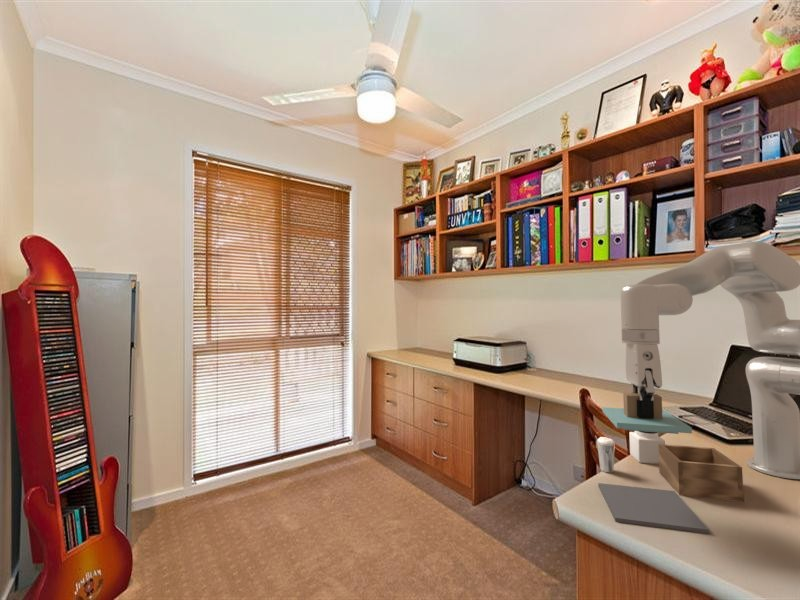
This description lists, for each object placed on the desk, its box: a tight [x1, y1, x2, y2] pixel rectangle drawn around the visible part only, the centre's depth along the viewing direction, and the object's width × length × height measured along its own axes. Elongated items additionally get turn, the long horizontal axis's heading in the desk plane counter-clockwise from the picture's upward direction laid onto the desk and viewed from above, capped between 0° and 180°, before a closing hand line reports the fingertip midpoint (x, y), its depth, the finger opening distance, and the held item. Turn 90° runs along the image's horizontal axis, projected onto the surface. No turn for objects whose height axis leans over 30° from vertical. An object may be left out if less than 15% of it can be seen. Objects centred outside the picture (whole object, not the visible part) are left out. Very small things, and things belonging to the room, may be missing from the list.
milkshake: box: [594, 435, 616, 474], centre depth 107 cm, size 4×5×10 cm
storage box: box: [658, 443, 745, 503], centre depth 97 cm, size 13×13×8 cm
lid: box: [602, 392, 693, 435], centre depth 87 cm, size 14×14×7 cm
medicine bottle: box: [628, 431, 666, 465], centre depth 114 cm, size 7×7×12 cm
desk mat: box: [597, 482, 710, 535], centre depth 87 cm, size 17×17×1 cm
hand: (642, 415), depth 87 cm, fingers closed on lid, 3 cm apart
